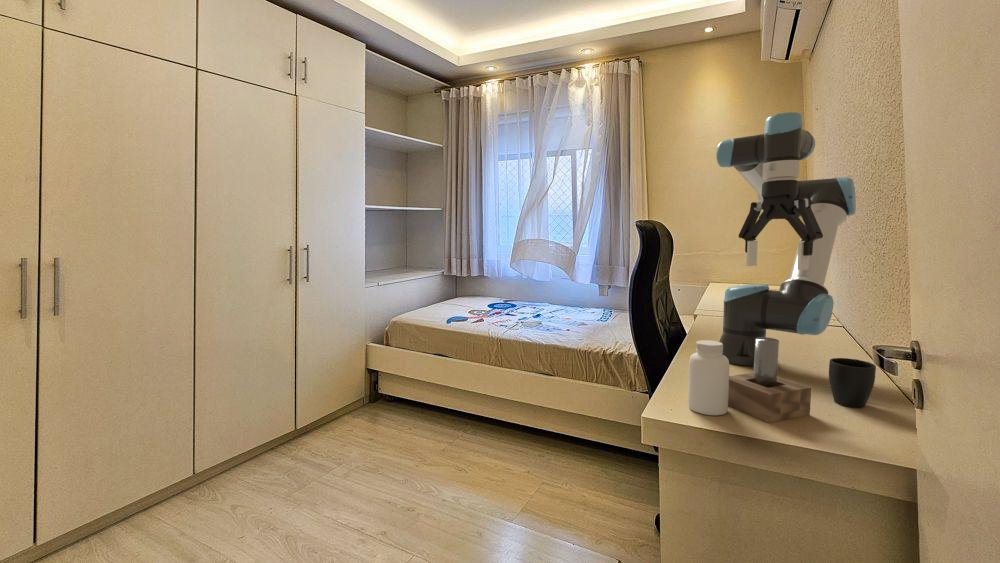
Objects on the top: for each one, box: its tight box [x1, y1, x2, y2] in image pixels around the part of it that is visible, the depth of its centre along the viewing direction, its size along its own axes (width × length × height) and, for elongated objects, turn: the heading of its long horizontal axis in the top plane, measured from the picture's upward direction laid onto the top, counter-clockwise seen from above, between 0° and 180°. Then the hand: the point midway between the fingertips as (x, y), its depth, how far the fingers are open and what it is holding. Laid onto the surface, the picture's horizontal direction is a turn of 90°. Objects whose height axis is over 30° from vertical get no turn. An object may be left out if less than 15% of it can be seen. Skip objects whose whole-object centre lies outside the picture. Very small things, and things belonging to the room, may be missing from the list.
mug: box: [828, 357, 877, 409], centre depth 101 cm, size 8×12×10 cm
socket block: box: [728, 372, 812, 424], centre depth 97 cm, size 12×12×6 cm
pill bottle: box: [687, 339, 730, 416], centre depth 97 cm, size 8×8×15 cm
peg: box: [753, 336, 780, 388], centre depth 97 cm, size 4×4×14 cm
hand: (775, 267), depth 110 cm, fingers open, 13 cm apart
